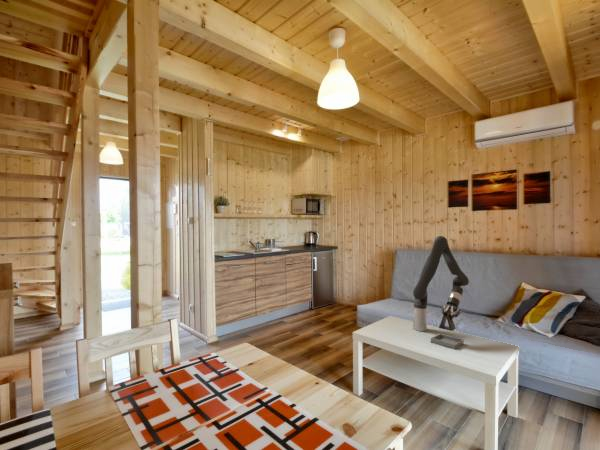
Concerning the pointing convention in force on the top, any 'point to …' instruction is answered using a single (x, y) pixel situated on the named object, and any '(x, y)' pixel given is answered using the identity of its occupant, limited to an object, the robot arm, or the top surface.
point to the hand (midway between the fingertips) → (446, 320)
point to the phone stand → (451, 324)
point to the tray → (447, 341)
